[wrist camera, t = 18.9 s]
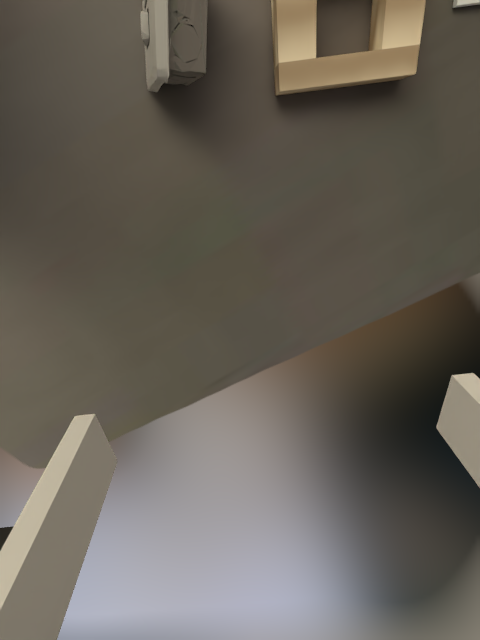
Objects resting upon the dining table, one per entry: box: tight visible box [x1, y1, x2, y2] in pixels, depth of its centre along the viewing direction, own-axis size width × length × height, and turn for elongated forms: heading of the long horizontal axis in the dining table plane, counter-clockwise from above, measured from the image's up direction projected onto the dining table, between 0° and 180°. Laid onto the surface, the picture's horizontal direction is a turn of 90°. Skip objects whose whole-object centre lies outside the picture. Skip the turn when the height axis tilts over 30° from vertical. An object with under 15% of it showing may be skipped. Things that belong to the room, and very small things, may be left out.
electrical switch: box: [140, 0, 208, 92], centre depth 24 cm, size 9×5×9 cm, turn 175°
